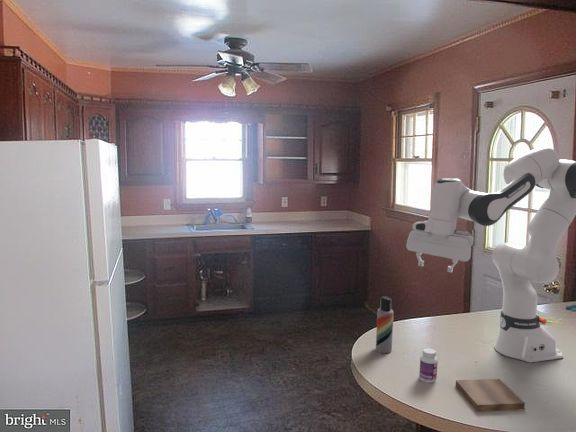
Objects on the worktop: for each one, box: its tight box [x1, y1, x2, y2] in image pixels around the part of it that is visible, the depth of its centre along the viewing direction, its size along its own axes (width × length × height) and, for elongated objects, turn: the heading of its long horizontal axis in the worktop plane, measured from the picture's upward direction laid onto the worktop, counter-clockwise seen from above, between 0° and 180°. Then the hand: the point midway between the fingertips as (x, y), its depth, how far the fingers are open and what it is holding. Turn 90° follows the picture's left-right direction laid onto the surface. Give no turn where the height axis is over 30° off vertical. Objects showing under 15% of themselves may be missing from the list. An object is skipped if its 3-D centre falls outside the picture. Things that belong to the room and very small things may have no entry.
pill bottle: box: [418, 348, 439, 384], centre depth 152 cm, size 5×5×10 cm
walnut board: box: [455, 378, 526, 413], centre depth 142 cm, size 14×14×2 cm
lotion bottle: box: [375, 296, 394, 354], centre depth 172 cm, size 6×6×20 cm
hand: (434, 268), depth 157 cm, fingers open, 8 cm apart
